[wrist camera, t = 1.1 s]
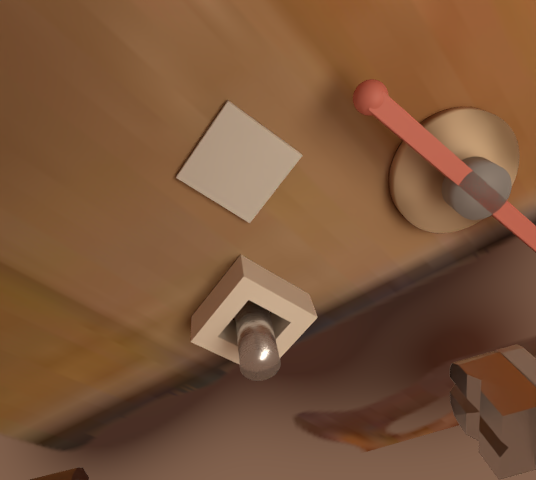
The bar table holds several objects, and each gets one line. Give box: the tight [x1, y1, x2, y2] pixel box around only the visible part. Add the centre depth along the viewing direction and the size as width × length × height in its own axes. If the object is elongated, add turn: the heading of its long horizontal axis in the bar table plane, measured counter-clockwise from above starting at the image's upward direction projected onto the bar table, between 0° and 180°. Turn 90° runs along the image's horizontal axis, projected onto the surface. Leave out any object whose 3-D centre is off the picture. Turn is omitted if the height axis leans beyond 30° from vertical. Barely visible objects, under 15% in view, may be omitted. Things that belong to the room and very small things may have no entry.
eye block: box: [191, 255, 317, 365], centre depth 45 cm, size 9×9×4 cm
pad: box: [176, 100, 302, 223], centre depth 39 cm, size 8×8×1 cm
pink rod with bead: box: [353, 79, 536, 252], centre depth 38 cm, size 5×29×3 cm, turn 53°
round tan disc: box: [389, 107, 519, 233], centre depth 41 cm, size 12×12×3 cm
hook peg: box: [235, 300, 280, 381], centre depth 43 cm, size 4×4×9 cm
